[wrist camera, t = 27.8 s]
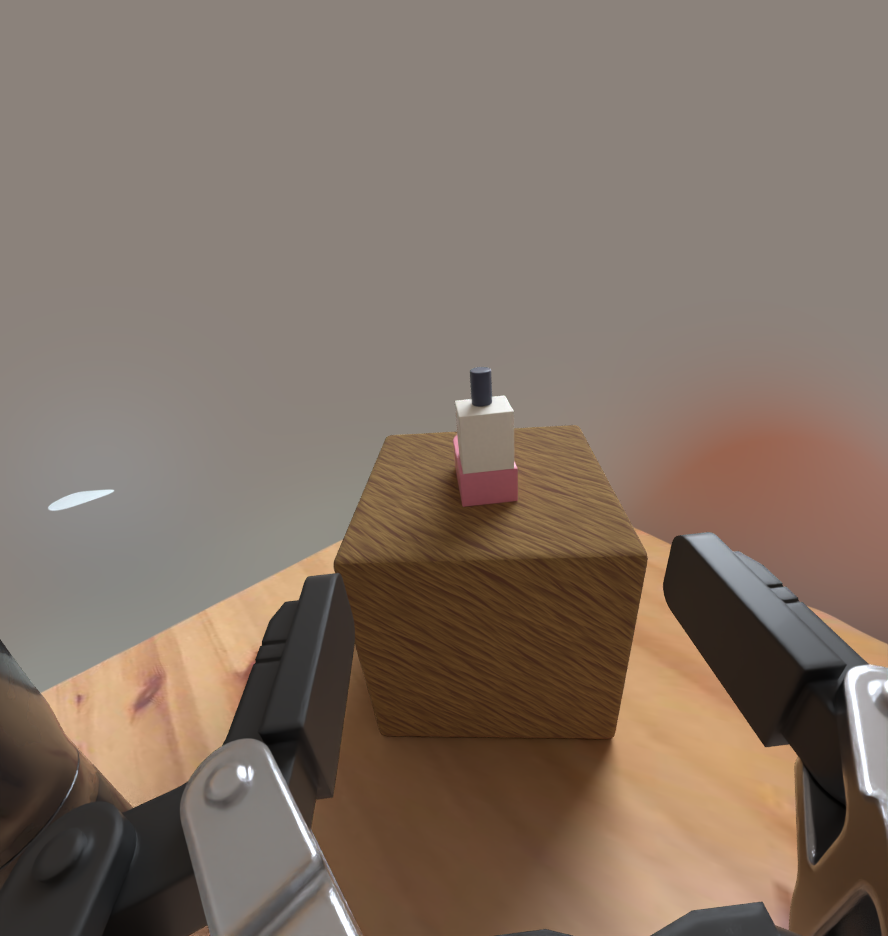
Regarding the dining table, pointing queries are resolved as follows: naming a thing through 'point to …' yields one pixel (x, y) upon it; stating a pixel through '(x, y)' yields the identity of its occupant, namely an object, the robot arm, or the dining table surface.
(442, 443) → the wood block
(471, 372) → the block stack
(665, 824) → the dining table surface
